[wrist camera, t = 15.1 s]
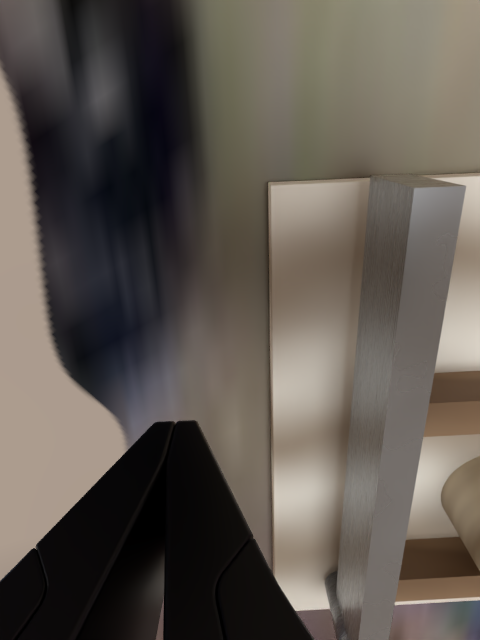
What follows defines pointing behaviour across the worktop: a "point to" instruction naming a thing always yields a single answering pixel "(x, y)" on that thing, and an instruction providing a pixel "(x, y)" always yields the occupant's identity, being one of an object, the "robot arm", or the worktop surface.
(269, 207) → the cradle
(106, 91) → the worktop surface
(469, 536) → the pivot pin
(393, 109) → the worktop surface
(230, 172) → the worktop surface
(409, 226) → the bar
